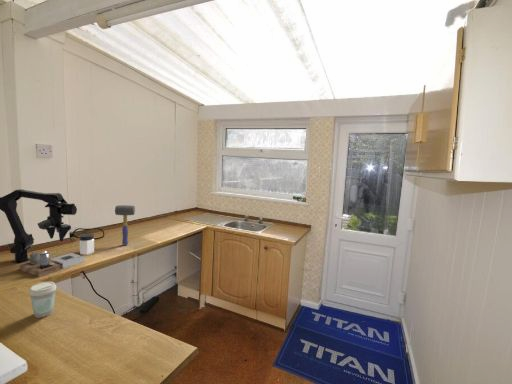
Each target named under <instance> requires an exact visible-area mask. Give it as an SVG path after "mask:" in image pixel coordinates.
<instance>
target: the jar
mask: <svg viewBox="0 0 512 384" xmlns="http://www.w3.org/2000/svg"><path fill="white" fill-rule="evenodd" d="M78 237H79V238H78V239H79V255H80V256H83V255H84V256H85V255H86V256H89V255H91V254H93V253H94V254H95V234H94V233H83V234H80V235H78Z"/></svg>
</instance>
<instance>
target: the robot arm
mask: <svg viewBox="0 0 512 384" xmlns="http://www.w3.org/2000/svg"><path fill="white" fill-rule="evenodd" d="M21 198H25V199H33V200H37V201H38V200H39V201H42V202H45V203H46V204H45V205H44V208H48V211H49V213H48V214H49V215H48V216H47V217H46V219H45V220H42V221H41V222H38V223H37V226H38V227H39V229H40V230H43V231H44V230H46V232H47V233H48V236H49V239H51V240H52V239H53V238H54V236H55V232H56V233H58V237H59V242H63V241H64V239H65V237H66V235H67V234H68V232H69V231H70V230H71V229H72V225H70V224H67V223H66V224H65V223H64V221H63V218H64V216H66V215H67V216H75V215H76V214H77V211H78V208H77V206H76V204H75V203H68V201H67V200H66V199H65V198H64V196H63V195H62V193H59V192H48V193H47V192H40V191H39V192H38V191H33V190H27V189H26V190H25V189H15V190H13V191H12V192H9V193H8V194H6V195H3V196H0V211H2V212H3V213H4V215H5V217H6V219H7V221H8V222H9V226H10V227H11V230H12V233H13V234H14V239H13V243H14V246H13V247H11V248H10V249H9V251H10V252H9V253H10V254H14V259H12V260H11V262H13V263H16V264H22V263H26V262H29V261H30V257H29V256H28V253H29V252H28V250H29V249H31V247H32V246H33V245H34V243H35V242H34V241H35V239H34V237H33V234H32V233H30V234H29V233H27V232H26V230H25V227H24V225H23V223H22V221H21V218H20V215H19V214H18V211H17V207H18V202H17V201H18V200H21Z"/></svg>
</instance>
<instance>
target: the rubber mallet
mask: <svg viewBox="0 0 512 384" xmlns="http://www.w3.org/2000/svg"><path fill="white" fill-rule="evenodd" d="M114 213H115V215H116V216H123V217H122V219H123V221H122V225H123V226H122V232H121V233H122V234H121V235H122V246H127V245H128V244H129V238H128V237H129V236H128V235H129V227H128V216H134V215H135V213H136V207H135V205H130V204H129V205H128V204H126V205H125V204H124V205H121V204H120V205H119V204H118V205H116V206H115V208H114Z"/></svg>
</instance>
